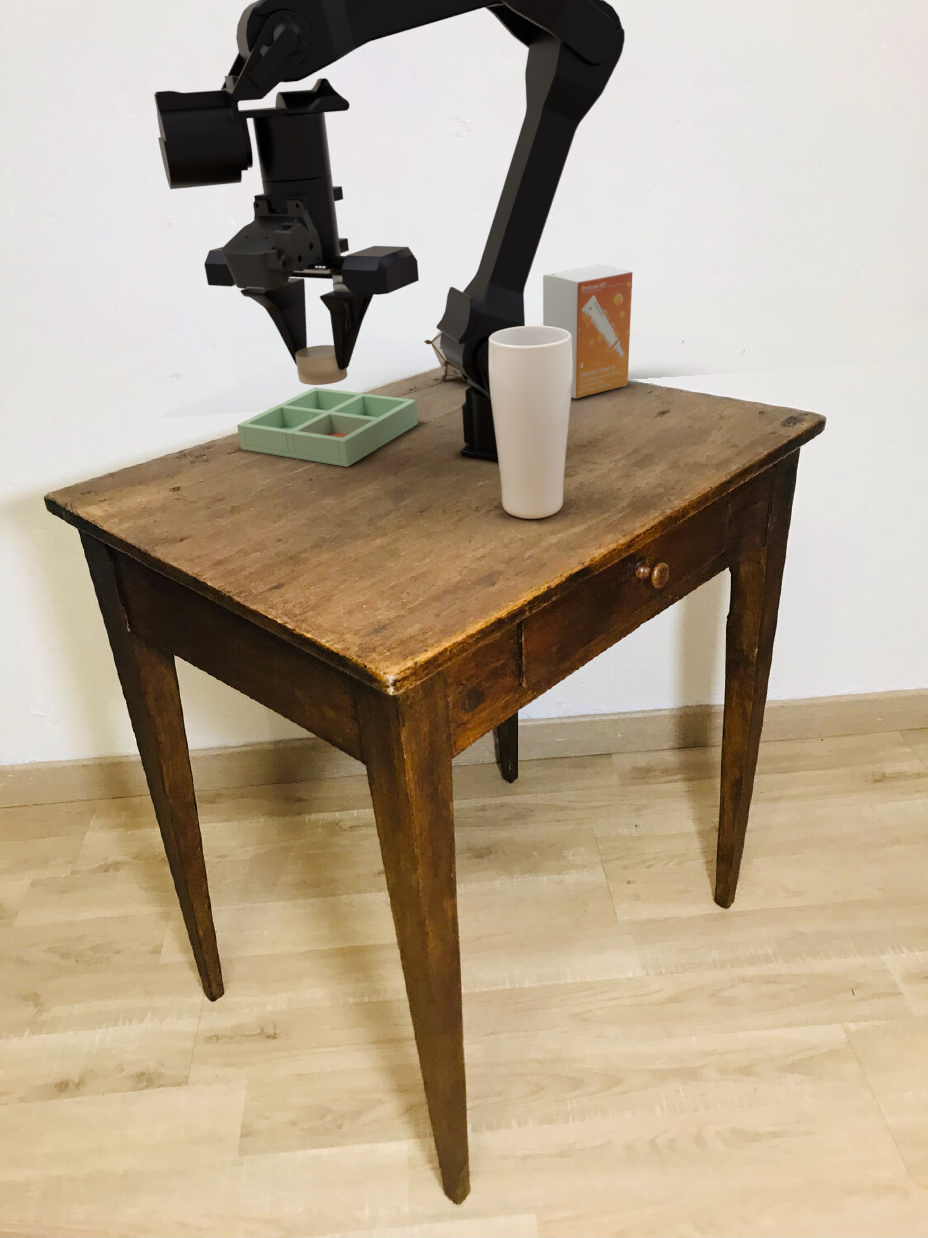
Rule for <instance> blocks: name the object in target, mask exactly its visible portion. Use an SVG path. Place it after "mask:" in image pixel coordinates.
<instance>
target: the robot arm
mask: <svg viewBox="0 0 928 1238" xmlns="http://www.w3.org/2000/svg"><path fill="white" fill-rule="evenodd" d="M481 9H486V10H487V11H489V12H490V13H491V14H492V15H493V16H494V17H495V18H496V19H497V20H498V22H499V23H500V24H501V25H502V26H503V27H504V28H505V30H507V31H508V33H509V34H510V35H511V36H512V37H514V38H515V39H516V40H517V41H519V42H520V43H521V44H522V45H524V46H525V47H526V48H527V49H528V52H527V57H526V65H525V70H524V71H525V73H524V77H525V78H524V79H525V99H526V100H525V101H526V103H525V104H526V105H525V107H526V109H525V115H524V118H523V122H522V125H521V127H520V131H519V135H518V138H517V141H516V144H515V148H514V150H513V154H512V157H511V161H510V164H509V167H508V170H507V173H506V176H505V180H504V184H503V187H502V190H501V193H500V196H499V199H498V203H497V207H496V210H495V213H494V215H493V219H492V223H491V226H490V229H489V233H488V236H487V239H486V241H485V246H484V248H483V249H484V250H483V252H482V254H481V259H480V262H479V264H478V269H477V270H476V273H475V275H474V277H473V278H472V279H471V280H470V282H469V283H468V284H467V285H466V286H465V288H464V290H463V291H461V290H459V289H458V288H456V287H454V286H450V287H449V289H448V292H447V295H446V304H445V309H444V313H443V315H442V317H441V319H440V321H439V322H438V323H437V324H436V326H435V327H436V329H437V330H438V331H439V332H440V331H441V339H440V346H441V350H442V352H443V354H444V356H445V358H446V360H447V361H448V362H449V363H450V364H451V365H452V366H454V367H455V368H456V369H457V370H459V371H460V373H461V375H462V377H463V378H462V377H461V378H462V380H463V381H464V382H465V383H468V384H469V385H471V386H470V387H468V388H467V389H465V390H464V393H465V394H464V397H465V402H463V404H461V415H462V433H463V443H464V444H465V445H464V446H462V447H461V448H460V449H459V453H460V455H461V456H466V457H470V458H471V457H473V458H479V459H484V460H485V459H486V460H492V461H498V453H497V445H496V436H495V428H494V421H493V413H492V405H491V396H490V385H489V361H488V355H489V337H490V335H492V334H493V333H495V332H497V331H500V330H503V329H507V328H512V327H520V326H526V319H525V318H526V317H525V316H526V315H525V289H526V284H527V281H528V278H529V277H530V272H531V269H532V266H533V263H534V261H535V257H536V254H537V252H538V247H539V245H540V242H541V239H542V236H543V234H544V233H543V232H544V229H545V226H546V223H547V220H548V218H549V214H550V211H551V208H552V206H553V203H554V199H555V197H556V193H557V190H558V187H559V184H560V181H561V177H562V174H563V171H564V169H565V165H566V162H567V159H568V156H569V153H570V150H571V147H572V144H573V142H574V138H575V136H576V135H575V134H576V132H577V129H578V128H579V125H580V124H581V122H582V121H583V119H584V118H585V117H586V115H588V113H589V112H590V110H591V109H592V108H593V107H594V105H595V104H596V103H597V101H598V100H599V98H601V96H602V94H603V93H604V91H605V89H606V88H607V85H608V83H609V81H610V79H611V77H612V75H613V73H614V71H615V69H616V67H617V64H618V63H619V61H620V59H621V56H622V54H623V49H624V46H625V36H626V35H625V34H626V32H625V29H624V28H623V25H622V22H621V19H620V16H619V14H618V12H617V11H616V10H615V8H614V7H613V6H612V5H611V4H610V3H608V2H607V1H606V0H256V1H254V2H251V3H250V4H249V5H247V6H246V8H244V10H243V11H242V13H241V15H240V18H239V20H238V23H237V27H236V34H235V35H236V37H235V38H236V39H235V40H236V44H237V50H238V53H237V55H236V56H235V59H234V61H233V63H232V65H231V67H230V69H229V72H228V74H227V75H224V82H223V84H222V85H221V88H220V89H216V90H204V91H188V92H180V91H176V90H160V91H155V92H154V94H153V97H154V102H155V107H156V114H157V115H156V116H157V124H158V130H159V135H160V137H158V138H157V139H158V144H159V149H160V154H161V159H162V164H163V168H164V172H165V176H166V180H167V183H168V187H169V189H170V190H178V189H189V188H190V189H191V188H199V187H200V188H201V187H209V186H210V187H211V186H220V185H230V184H240V183H242V181H243V180H242V179H243V174H242V173H243V171H244V172H246V171H249V169H252V168H253V166H254V158H253V157H254V156H253V146H252V141H251V135H250V130H249V124H248V119H252V123H253V130H254V137H255V143H256V144H255V145H256V150H257V157H258V163H259V170H260V177H261V185H262V191H263V193H260V194H256V195H255V194H254V195H253V197H254V201H253V202H252V203H253V204H252V207H253V213H254V215H253V220H252V221H251V222H250V223H248V224H246V225H244V226H243V227H241V229H240V230H239V231H237V233H236V234H235V235H233V236H232V237H231V239H230V240H228V241H227V242H226V243H225V245H223V246H220V247H217V248H214V249H213V248H212V249H209V250H208V253H207V255H206V258H205V261H204V271H205V277H206V281H207V285H208V286H213V287H215V286H216V287H235V286H236V288H238V289H240V294H241V295H242V296H243V297H245V298H250V299H252V300H253V301H255V302H256V303H258V304H259V305H261V306H262V307H263V308H264V309H265V311H266V313H267V314H268V316H269V317H270V318H271V321H272V322H273V324H274V325H275V327H276V329H277V332H278V333H279V335H280V337H281V339H282V341H283V342H284V343H283V344H284V345H285V346H286V348H287V351H288V352H289V354H290V356H291V358H292V360H293V362H294V364H295V365H296V366H297V363H296V356H295V354H296V352H297V351H299V350H301V349H304V348H307V347H308V337H307V315H306V314H307V312H306V311H307V310H306V309H307V308H306V282H305V279H325V280H326V279H327V280H332V289H333V290H331V291H329V292H326V293H323V294H322V295H319V299H320V300H321V302H322V303H323V305H324V306H325V307H326V309H327V310H328V311H329V315H330V316H329V317H330V324H331V332H332V333H331V334H332V339H333V340H332V341H333V345H334V349H335V356H336V360H337V364H338V368H339V369H340V370H344V369H346V368H347V369H348V368H349V366H350V364H351V363H350V362H351V360H352V356H353V353H354V350H355V347H356V344H357V340H358V338H359V333H360V332H361V331H360V330H361V327H362V324H363V321H364V318H365V317H366V314H367V311H368V309H369V307H370V304H371V302H372V300H373V297H374V295H376V296H377V295H379V296H380V295H388V294H390V293H393V292H395V291H398V290H400V289H402V288H404V287H407V286H409V285H412V284H414V283H416V282H419V280H420V279H419V267H418V266H419V265H418V264H419V263H418V259H417V258H416V256H415V255H414V253H413V252H412V250H411V249H410V247H409V246H396V245H395V246H393V245H373V246H370V247H367V248H364V249H360V250H358V251H355V252H352V253H349V254H346V255H342V254H344V253H346V252H349V251H350V248H349V238H347V237H340V235H339V227H338V219H337V218H338V217H337V209H336V202H338V201H342V200H344V192H343V186H341V185H340V186H339V185H337V186H335V185H334V184H333V183H334V182H333V176H332V165H331V159H330V158H331V156H330V148H329V141H328V139H329V138H328V131H327V121H326V114H325V113H336V112H345V111H348V110H349V109H350V101H349V100H348V99H346V98H344V97H343V96H342V95H341V94H339V92H337V91H336V89H335V88H334V87H333V85H332V84H331V83H330V81H329V79H328V78H325V77H323V78H322V77H321V78H320V77H319V78H318V79H316V82H315V84H314V85H313V87H312V88H311V89H303V90H286V91H278V92H277V93H276V96H275V106H273V107H263V108H262V107H261V108H252V109H251V108H250V109H249V108H248V109H240V107H239V102H246V101H257V100H258V101H259V100H263V99H264V98H265V97H266V96H267V95H268V94H270V93H271V91H273V90H274V89H275V88H276V87H277V86H278V85H279V84H281V83H293V82H295V83H296V82H299V81H303V80H304V79H307V78H308V77H310V76H312V75H313V74H315V73H317V72H320V71H321V70H323V69H325V68H326V67H328V66H331V65H332V64H334V63H335V62H338V61H339V60H340V59H342V58H344V57H345V56H347V55H349V54H350V53H352V52H354V51H355V50H357V49H359V48H360V47H362V46H365V45H366V44H368V43H370V42H373V41H376V40H380V39H384V38H387V37H391V36H393V35H397V34H400V33H403V32H407V31H409V30H414V29H417V28H420V27H424V26H427V25H430V24H433V23H436V22H437V23H438V22H440V21H443V20H447V19H451V18H453V17H457V16H460V15H463V14H468V13H470V12H475V11H477V10H481Z"/></svg>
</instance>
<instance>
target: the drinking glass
mask: <svg viewBox="0 0 928 1238" xmlns="http://www.w3.org/2000/svg"><path fill="white" fill-rule="evenodd" d="M488 361H489V385H490V396H491V405H492V413H493V421H494V428H495V436H496V445H497V453H498V460H497V461H498V467H499V468H498V469H499V477H500V488H501V489H500V490H501V491H500V493H501V505H502V508H503V509H504V511H505V512H506V513H508V514H509V515H511V516H513V517H515V518H520V519H527V520H532V519H533V520H535V519H543V518H547V517H550V516H553V515H555V514H557V513H558V512H559V511H560V510H561V509H562V507H563V504H564V483H565V482H564V481H565V471H566V469H565V468H566V458H567V446H568V438H569V437H568V435H569V426H570V416H571V405H572V397H571V394H572V372H573V362H572V336H571V333H570V332H568V331H567V330H565V329H561V328H557V327H551V326H543V325H525V326H520V327H512V328H507V329H503V330H500V331H497V332H495V333H493V334H492V335H490V337H489V355H488Z"/></svg>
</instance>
